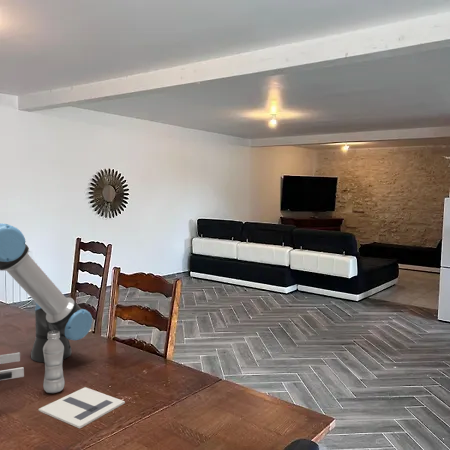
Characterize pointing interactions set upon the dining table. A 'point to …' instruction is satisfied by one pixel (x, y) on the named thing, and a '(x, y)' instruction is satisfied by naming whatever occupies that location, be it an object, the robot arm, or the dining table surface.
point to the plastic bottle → (53, 363)
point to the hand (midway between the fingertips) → (21, 363)
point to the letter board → (81, 407)
